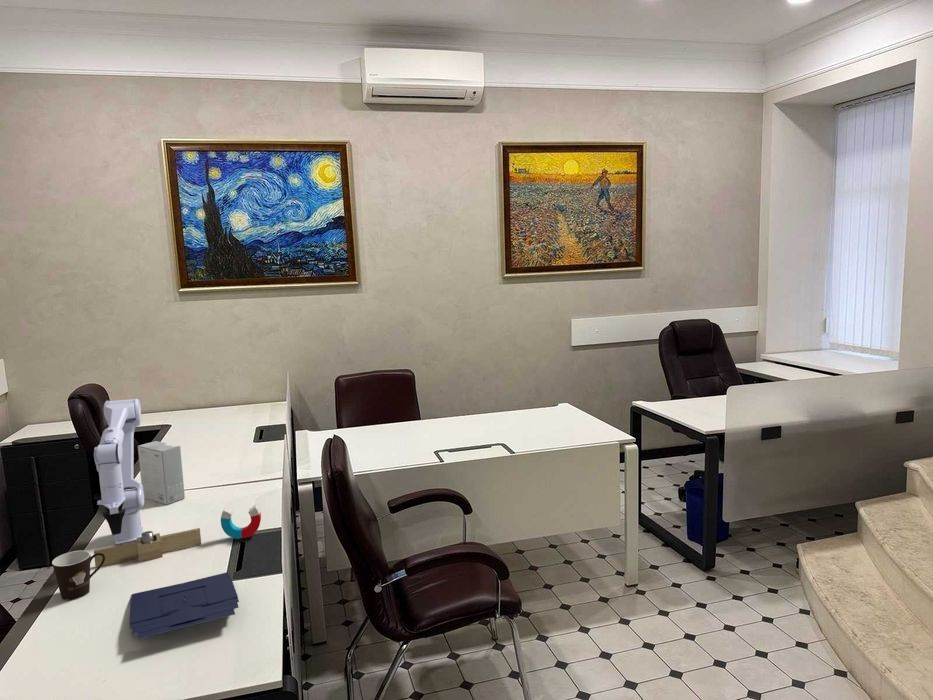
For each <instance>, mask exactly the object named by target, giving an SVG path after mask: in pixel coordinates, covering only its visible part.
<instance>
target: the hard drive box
mask: <svg viewBox="0 0 933 700" xmlns="http://www.w3.org/2000/svg"><path fill="white" fill-rule="evenodd" d="M137 453H138V461H139V473H140V481H141V482H140V483H141V484H142V485H143V492H144V499H147V500H150V501H153V502H156V503H160V504H163V505H170V504H172V503H176V502H179V501H181V500H184V499H185V498H186V497H185V484H184V475H183V462H182V461H183V460H182V454H181V453H182V452H181V445H176V444H171V443H168V442H164V441H163V442H162V441H157V440H155V441H151V442H147V443H144V444H140V445H137Z"/></svg>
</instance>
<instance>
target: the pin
mask: <svg viewBox="0 0 933 700" xmlns="http://www.w3.org/2000/svg"><path fill="white" fill-rule="evenodd" d="M153 533H154V532H153V530H148V531H143V533H142V534H141V535H142V543H147V542H152V541H154V540H153Z"/></svg>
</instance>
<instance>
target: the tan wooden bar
mask: <svg viewBox="0 0 933 700" xmlns="http://www.w3.org/2000/svg"><path fill="white" fill-rule="evenodd" d="M201 536H202V535H201V528H200V527H198V528H192V529H189V530H182V531H179V532H174V533H169V534H165V535H161V533H160V532H158V533H154V534H153V540H154V541H152V542H147V543H142V537H138V538H137V540H135V541H131V542H126V543H121V544H115V545H112V546H106V547H103V548H98V549H94V550H93V555H94V554H96V553H102V554H104V556H105V561H104V563H103V565H102V566H101V568H102V567H107V566H111V565H115V564H119V563H124V562H130V561H134V560H138V563H143V562H146V561H151V560H154V559H159V558H163V554H166V553H170V552H175V551H179V549H180V550H184V549H188V548H192V547H198V546H202V537H201ZM93 559H94V566H95V567H94V568H95V569H97V568H98V567H99V565H100V564H101V562H102V560H103V557H102V556H101V555H97V556H95V557H94V558H93Z"/></svg>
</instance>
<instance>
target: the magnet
mask: <svg viewBox="0 0 933 700" xmlns="http://www.w3.org/2000/svg"><path fill="white" fill-rule="evenodd" d="M233 512H234V511H233V510H232V509H230V508H227V507H224V508H223V511H222V512H221V515H220V526H221V528H222V530H223V532H224V533H225V534H226V536H228V537H230V538H232V539H235V540H240V539H239V538H245V539H248V538H250V537H252V536H253V535H254V534H256V533H257V531H258V529H259V528H260V525H261V521H262V513H261V510H260V507H259V506H258V504H254V505H253V506H252V507H250V508H249V510H248V515H249V517H250V522H249V524H247V526H245V527H240V526H237V525H235V524H234V522H233V521H232V515H233ZM247 537H248V538H247Z"/></svg>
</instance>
